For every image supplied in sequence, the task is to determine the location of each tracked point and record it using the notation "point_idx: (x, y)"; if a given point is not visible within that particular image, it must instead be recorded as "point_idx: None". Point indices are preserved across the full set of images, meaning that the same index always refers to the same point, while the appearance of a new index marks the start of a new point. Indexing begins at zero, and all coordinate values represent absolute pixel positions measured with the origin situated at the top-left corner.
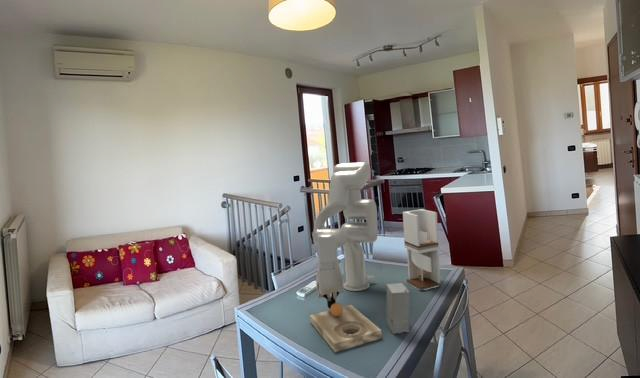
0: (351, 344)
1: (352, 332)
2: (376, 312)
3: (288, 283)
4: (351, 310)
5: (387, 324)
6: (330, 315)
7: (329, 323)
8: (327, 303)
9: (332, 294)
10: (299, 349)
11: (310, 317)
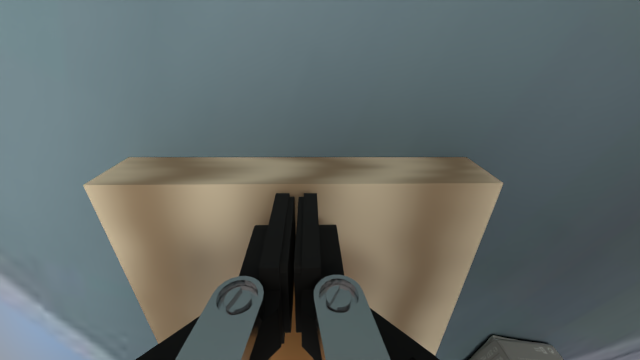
0: None
1: None
2: (564, 237)
3: None
4: (431, 264)
5: (484, 350)
6: None
7: None
8: (248, 252)
9: (335, 342)
10: (68, 345)
11: (100, 179)
